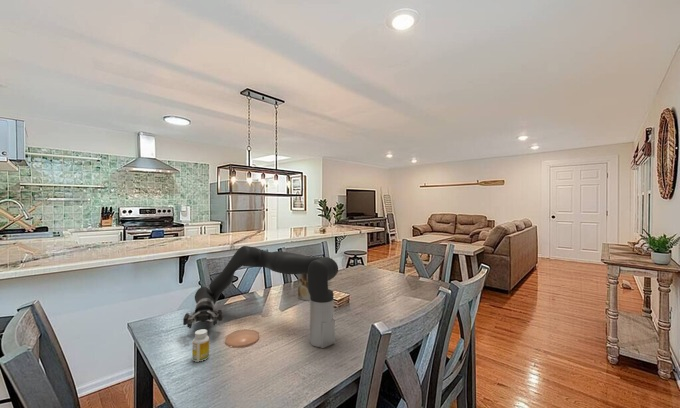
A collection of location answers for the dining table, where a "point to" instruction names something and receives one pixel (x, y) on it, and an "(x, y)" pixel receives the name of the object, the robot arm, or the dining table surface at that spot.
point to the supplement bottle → (200, 346)
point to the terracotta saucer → (242, 338)
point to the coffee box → (303, 287)
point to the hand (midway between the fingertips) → (202, 324)
